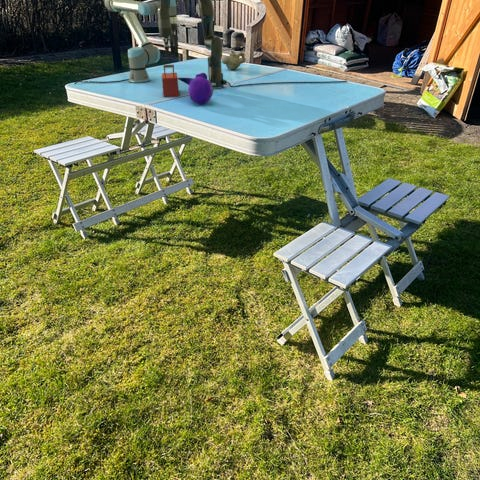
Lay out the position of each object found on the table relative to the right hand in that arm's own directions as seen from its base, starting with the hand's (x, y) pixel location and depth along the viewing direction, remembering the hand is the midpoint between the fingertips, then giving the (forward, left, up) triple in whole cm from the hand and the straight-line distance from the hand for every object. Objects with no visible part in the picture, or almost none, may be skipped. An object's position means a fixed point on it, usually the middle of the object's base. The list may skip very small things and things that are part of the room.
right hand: (167, 55), depth 282 cm
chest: (-2, -6, -25) cm, 26 cm away
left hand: (-22, -42, -7) cm, 48 cm away
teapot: (-81, -60, -25) cm, 104 cm away
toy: (-7, +24, -25) cm, 36 cm away
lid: (-2, -5, -14) cm, 15 cm away
